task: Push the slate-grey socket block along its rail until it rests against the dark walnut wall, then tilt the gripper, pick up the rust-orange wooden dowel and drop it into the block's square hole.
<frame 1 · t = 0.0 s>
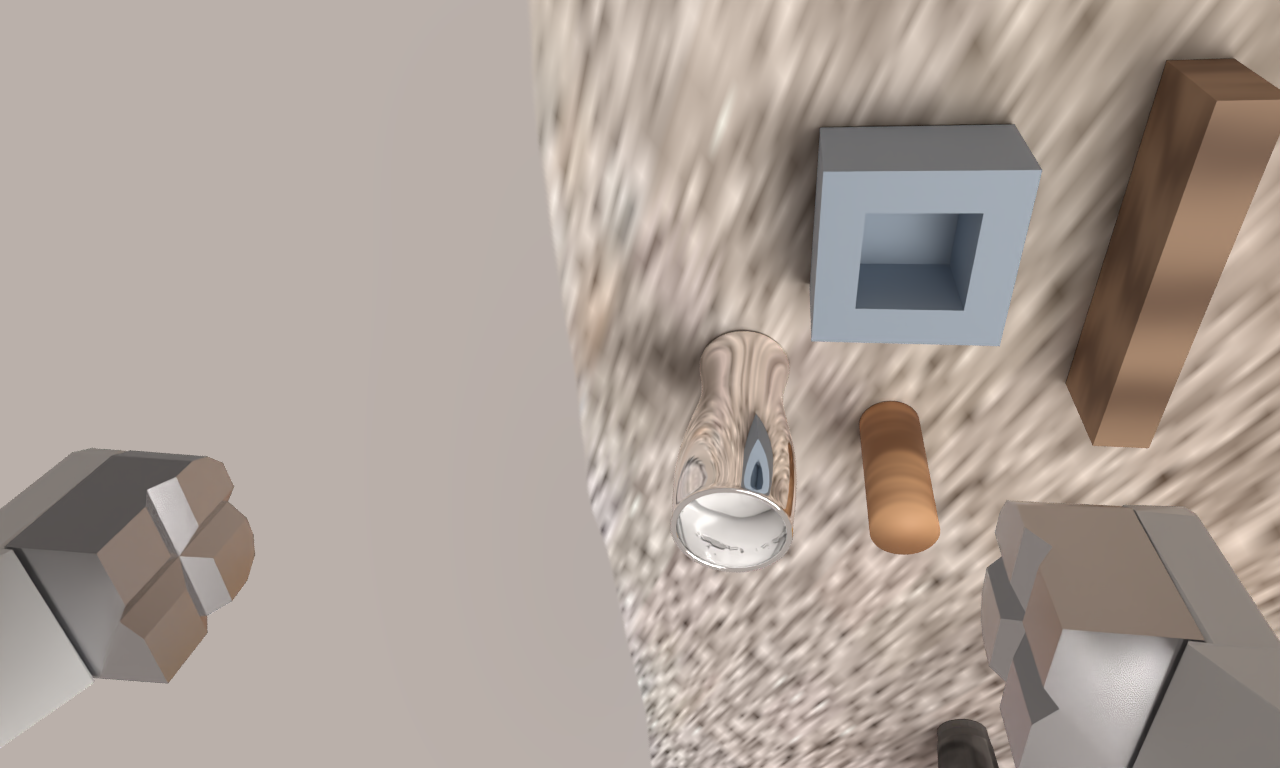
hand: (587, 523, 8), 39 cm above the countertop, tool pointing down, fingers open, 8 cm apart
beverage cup: (961, 730, 77), on the countertop
backstop wall: (1138, 243, 45), on the countertop
beer glass: (744, 365, 55), on the countertop
socket block: (909, 236, 44), point 3 cm above the countertop, slide at 0.0 cm
dowel: (888, 423, 56), on the countertop
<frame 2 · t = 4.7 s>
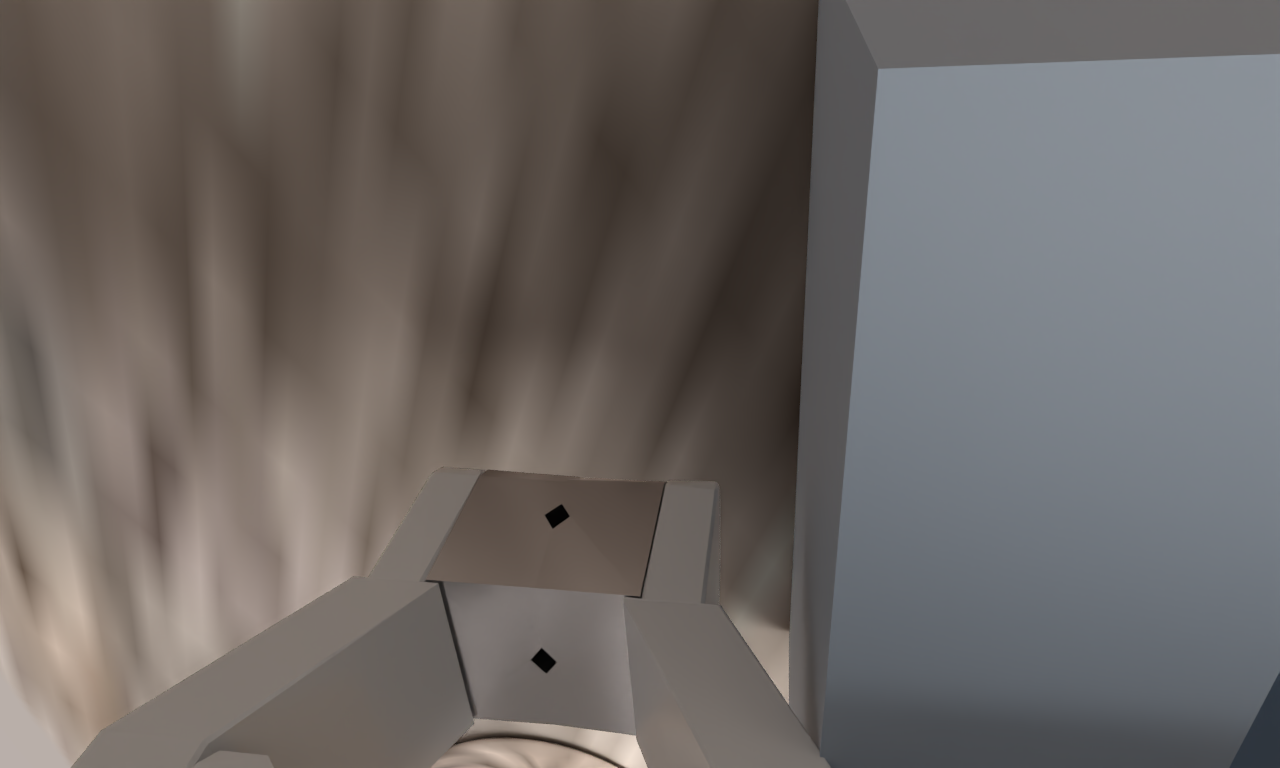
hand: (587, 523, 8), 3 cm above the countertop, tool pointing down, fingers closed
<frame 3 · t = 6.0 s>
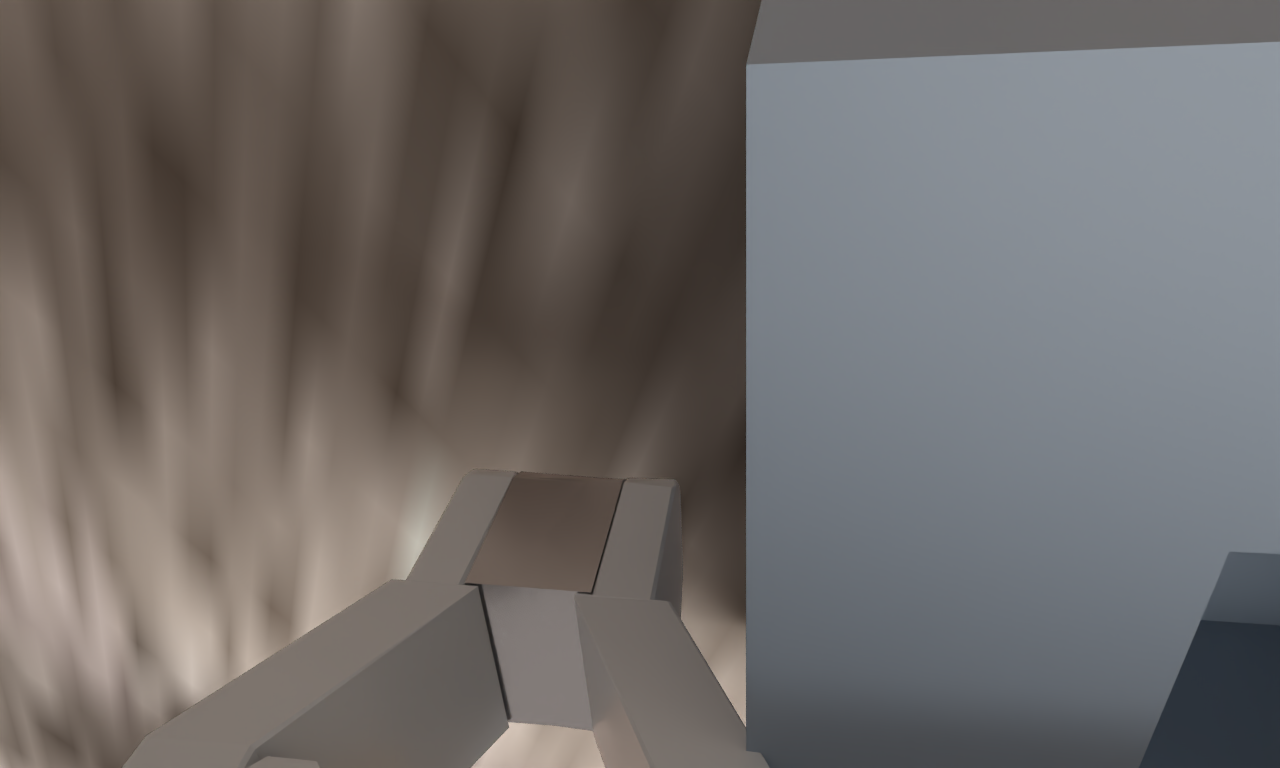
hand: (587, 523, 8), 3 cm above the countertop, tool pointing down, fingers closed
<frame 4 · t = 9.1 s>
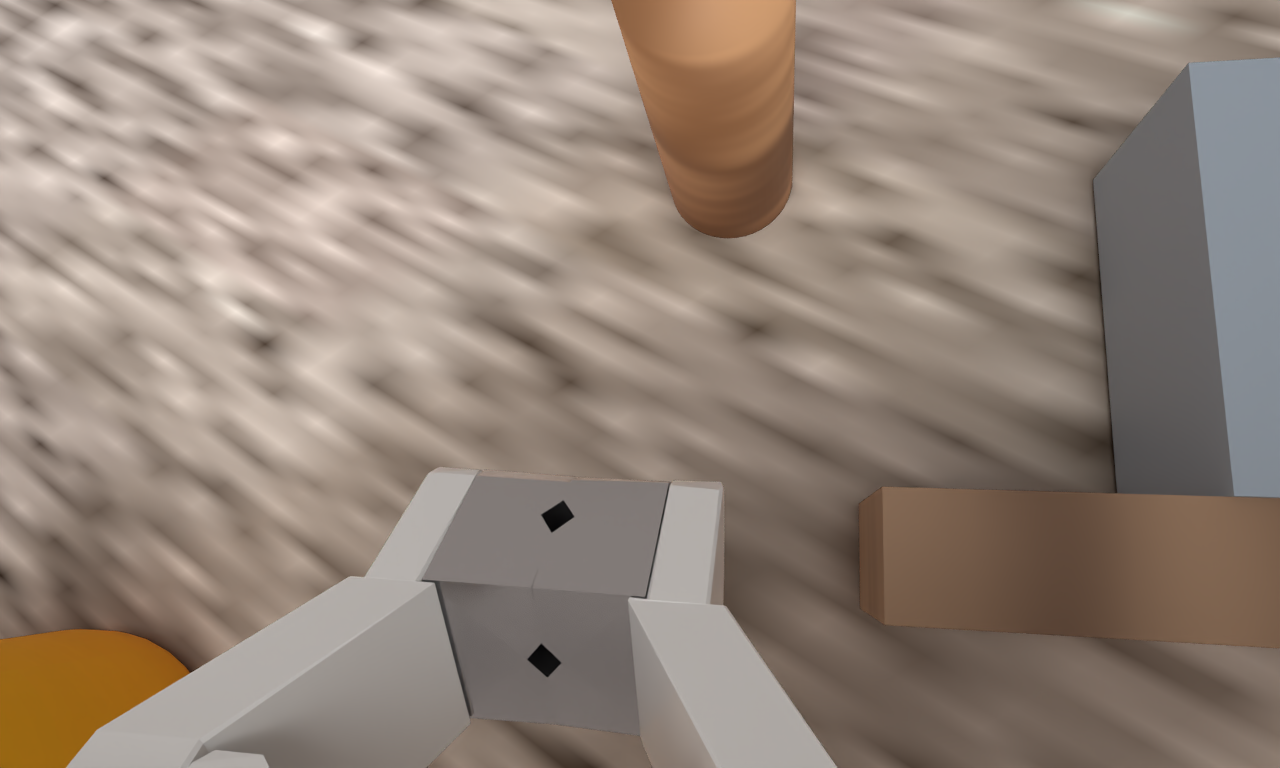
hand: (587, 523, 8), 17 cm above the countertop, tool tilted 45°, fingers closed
backstop wall: (1240, 572, 22), on the countertop
dowel: (731, 181, 27), on the countertop
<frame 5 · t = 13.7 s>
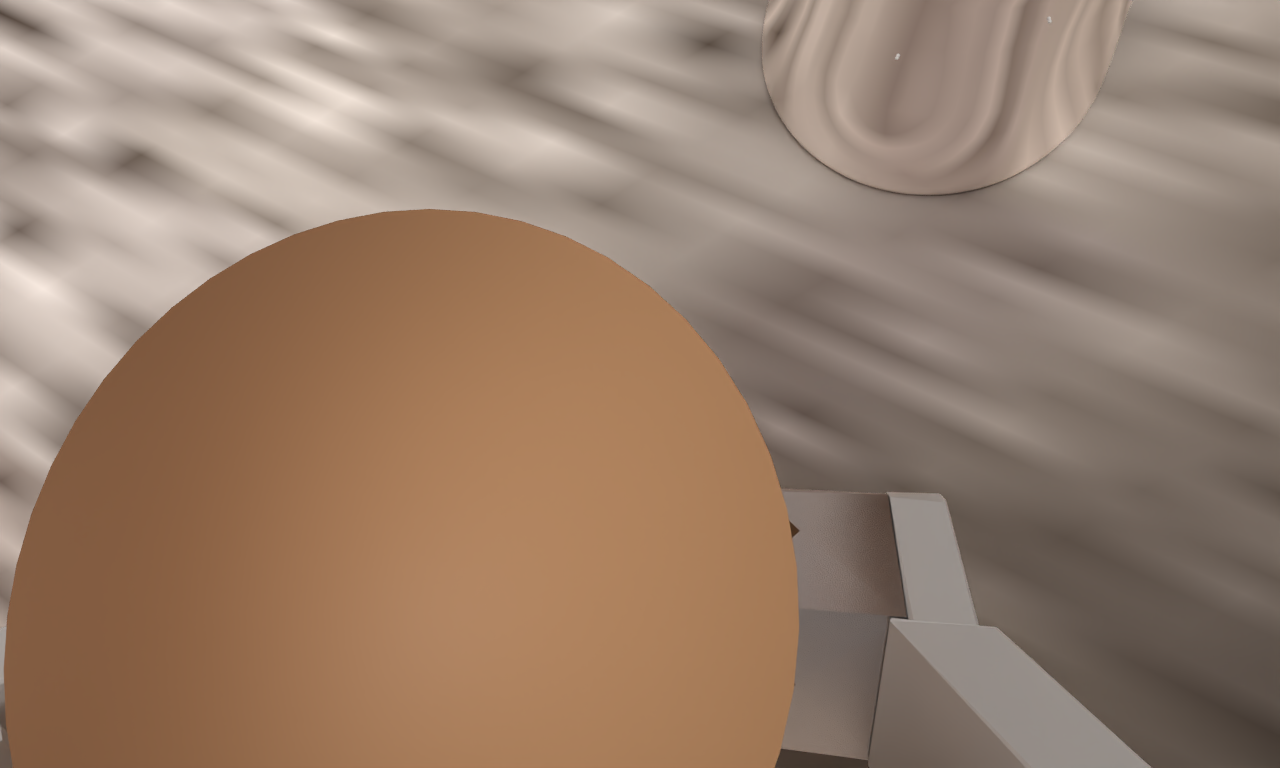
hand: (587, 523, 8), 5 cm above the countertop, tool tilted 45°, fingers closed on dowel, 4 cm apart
beer glass: (924, 55, 15), on the countertop
dowel: (651, 581, 13), on the countertop, touching gripper
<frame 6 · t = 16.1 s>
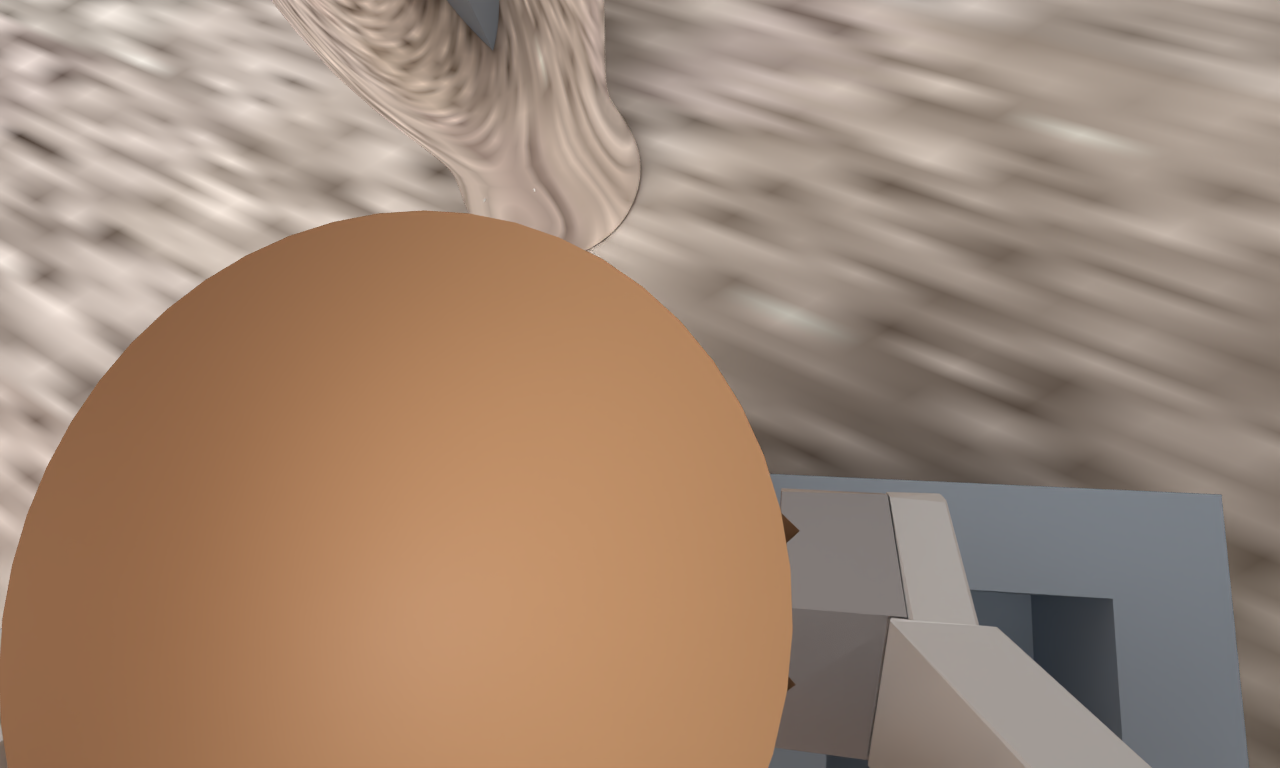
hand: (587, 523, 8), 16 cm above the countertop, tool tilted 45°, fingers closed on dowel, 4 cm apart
beer glass: (553, 180, 27), on the countertop
socket block: (937, 711, 19), point 3 cm above the countertop, slide at 6.5 cm
dowel: (650, 582, 13), point 10 cm above the countertop, touching gripper
when the fingers open (9 cm above the countertop, at t = 18.8 s): dowel drops 2 cm, resting on socket block.
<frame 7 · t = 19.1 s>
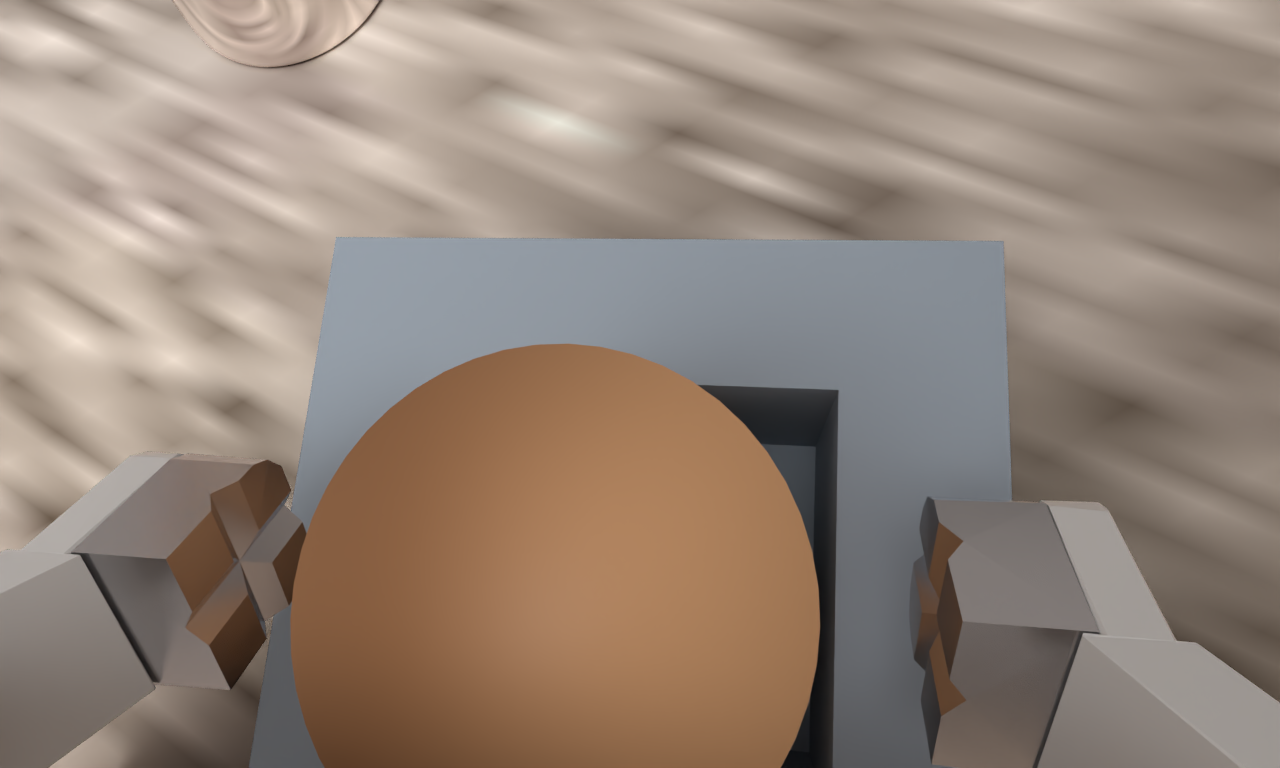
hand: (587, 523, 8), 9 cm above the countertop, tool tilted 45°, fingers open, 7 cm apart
socket block: (652, 582, 14), point 3 cm above the countertop, slide at 6.5 cm, touching dowel
dowel: (671, 583, 16), point 1 cm above the countertop, touching socket block
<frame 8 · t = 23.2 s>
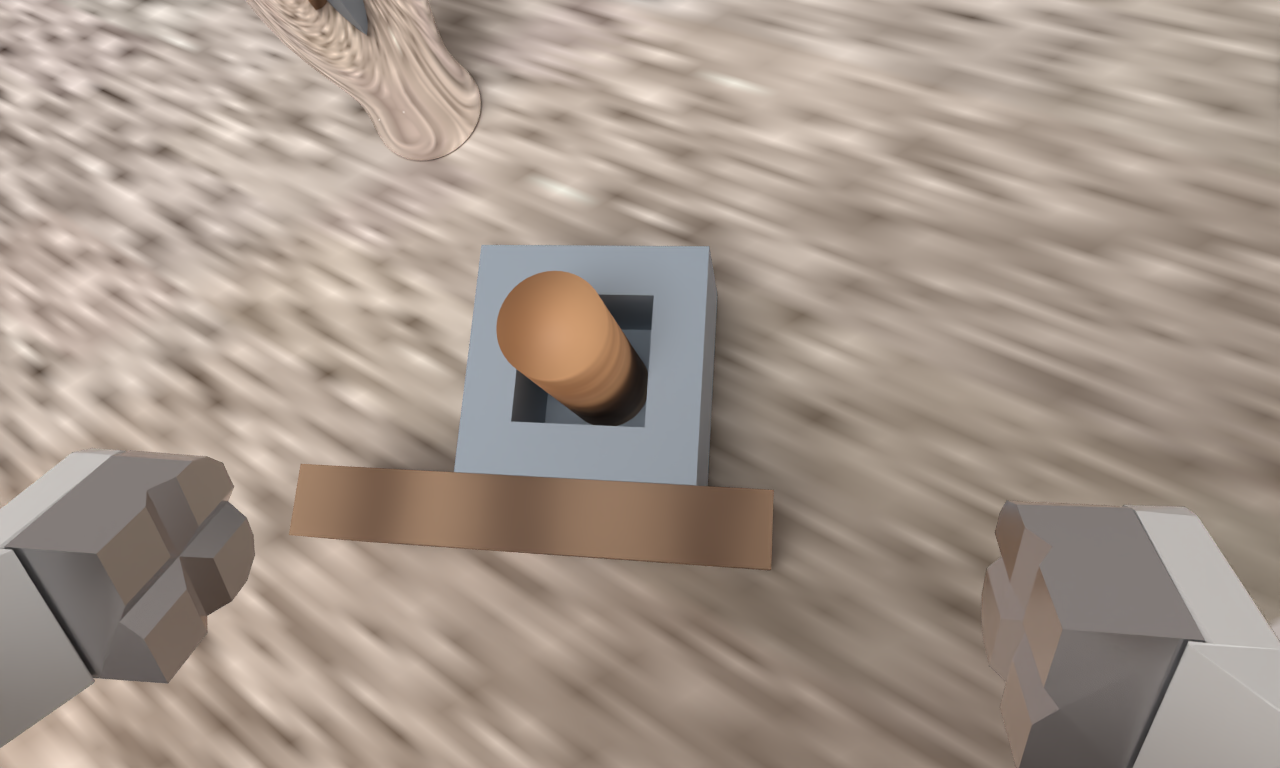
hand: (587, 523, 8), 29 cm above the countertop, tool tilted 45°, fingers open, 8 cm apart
backstop wall: (558, 522, 38), on the countertop
beer glass: (430, 114, 45), on the countertop
socket block: (597, 375, 36), point 3 cm above the countertop, slide at 6.5 cm, touching dowel
dowel: (608, 385, 38), point 1 cm above the countertop, touching socket block
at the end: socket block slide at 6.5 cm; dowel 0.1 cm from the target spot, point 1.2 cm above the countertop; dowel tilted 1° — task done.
